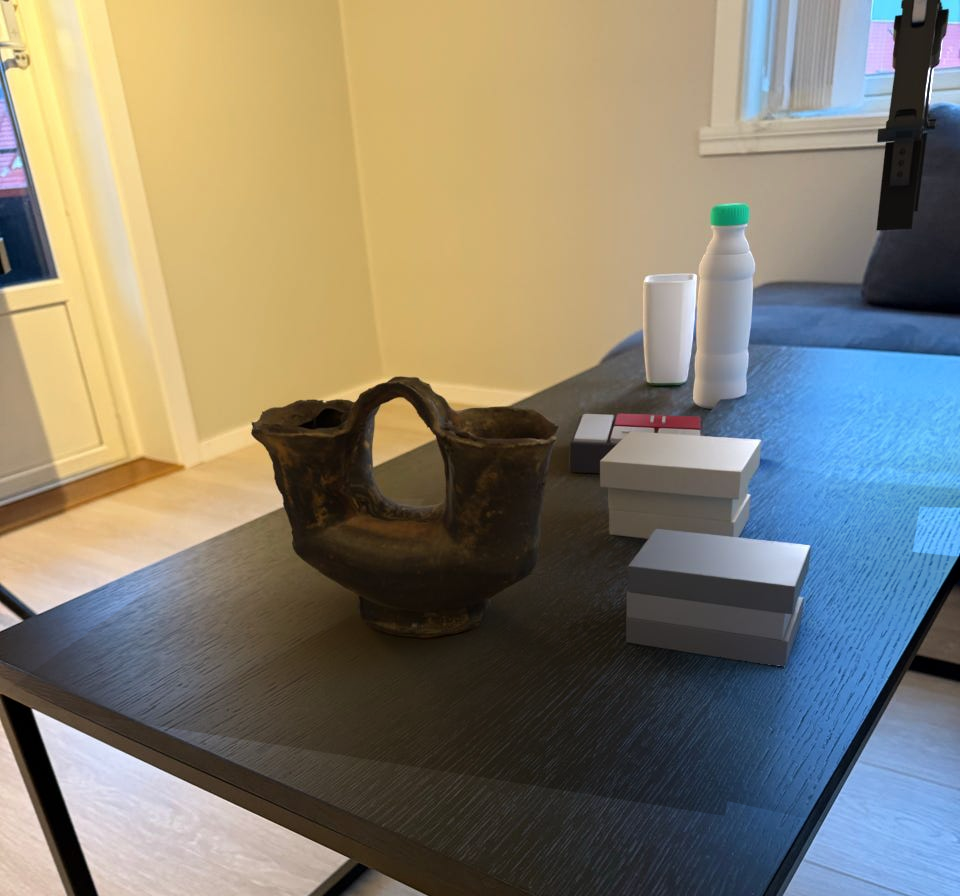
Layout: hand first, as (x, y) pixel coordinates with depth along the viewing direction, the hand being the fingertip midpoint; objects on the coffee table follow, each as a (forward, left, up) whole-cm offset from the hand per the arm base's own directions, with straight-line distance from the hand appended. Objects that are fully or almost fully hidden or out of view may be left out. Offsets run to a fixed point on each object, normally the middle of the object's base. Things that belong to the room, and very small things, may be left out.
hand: (898, 220), depth 83 cm
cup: (+31, -41, -26) cm, 58 cm away
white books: (+15, +13, -26) cm, 33 cm away
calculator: (+25, -6, -26) cm, 37 cm away
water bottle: (+21, -31, -26) cm, 46 cm away
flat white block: (+15, +13, -21) cm, 29 cm away
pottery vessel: (+31, +37, -26) cm, 55 cm away
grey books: (+7, +33, -26) cm, 43 cm away
